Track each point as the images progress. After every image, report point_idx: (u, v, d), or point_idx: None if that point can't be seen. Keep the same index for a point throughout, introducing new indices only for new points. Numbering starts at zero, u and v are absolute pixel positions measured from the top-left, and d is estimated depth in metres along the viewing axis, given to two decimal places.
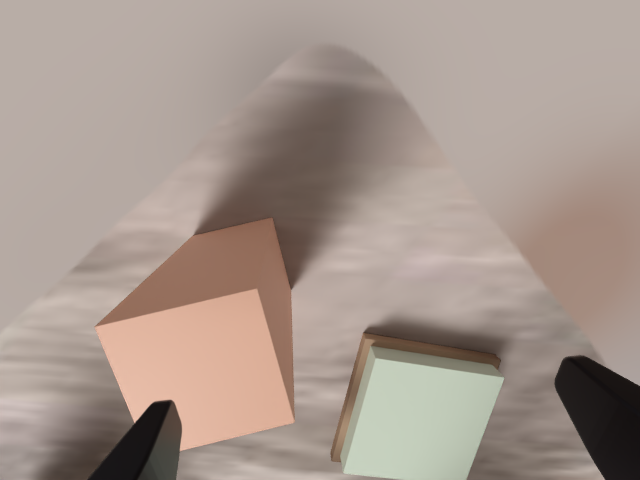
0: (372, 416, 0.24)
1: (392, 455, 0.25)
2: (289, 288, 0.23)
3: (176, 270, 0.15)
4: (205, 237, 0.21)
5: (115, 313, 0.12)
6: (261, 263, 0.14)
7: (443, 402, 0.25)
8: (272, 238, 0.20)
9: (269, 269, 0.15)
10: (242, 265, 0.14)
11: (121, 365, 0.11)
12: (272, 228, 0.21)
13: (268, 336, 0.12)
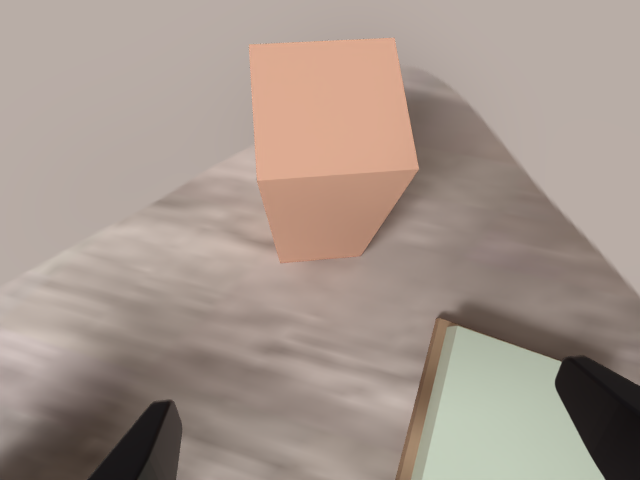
0: (455, 411, 0.19)
1: None
2: None
3: None
4: None
5: None
6: None
7: (546, 406, 0.19)
8: None
9: None
10: None
11: (260, 80, 0.12)
12: None
13: (400, 78, 0.12)
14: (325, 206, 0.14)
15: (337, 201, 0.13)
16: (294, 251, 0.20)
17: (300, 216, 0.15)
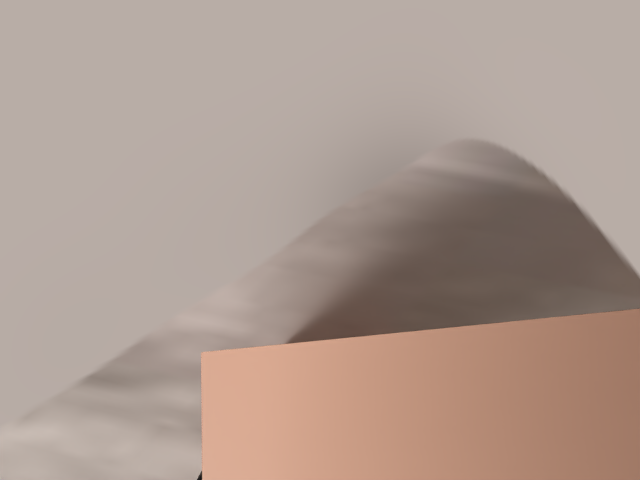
0: None
1: None
2: None
3: None
4: None
5: None
6: None
7: None
8: None
9: None
10: None
11: None
12: None
13: None
14: None
15: None
16: None
17: None
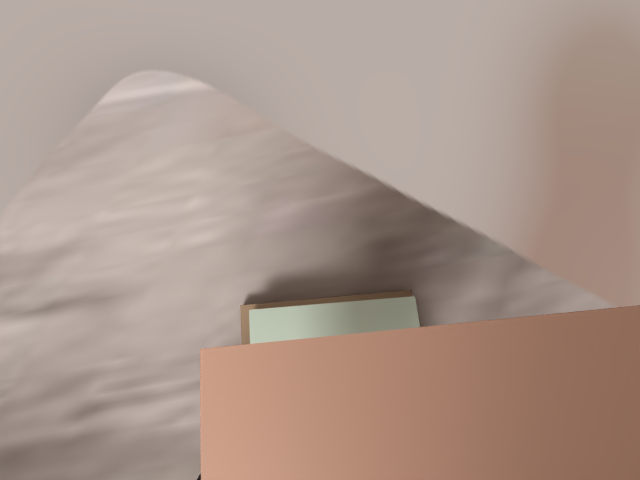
0: None
1: None
2: None
3: None
4: None
5: None
6: None
7: None
8: None
9: None
10: None
11: None
12: None
13: None
14: None
15: None
16: None
17: None
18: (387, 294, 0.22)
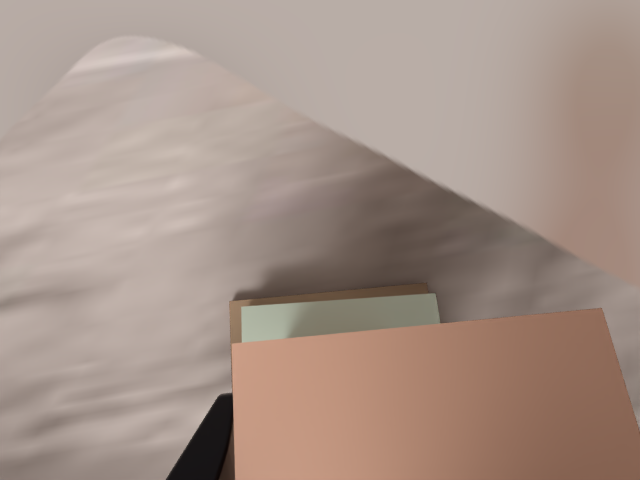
0: None
1: None
2: None
3: None
4: None
5: None
6: None
7: None
8: None
9: None
10: None
11: (262, 468, 0.04)
12: None
13: (638, 442, 0.05)
14: None
15: None
16: None
17: None
18: (399, 288, 0.19)
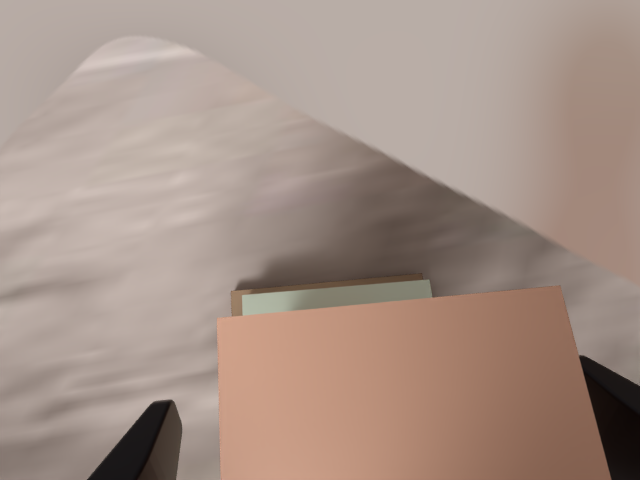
0: None
1: None
2: None
3: None
4: None
5: None
6: None
7: None
8: None
9: None
10: None
11: (243, 427, 0.05)
12: None
13: (587, 406, 0.05)
14: None
15: None
16: None
17: None
18: (395, 278, 0.19)
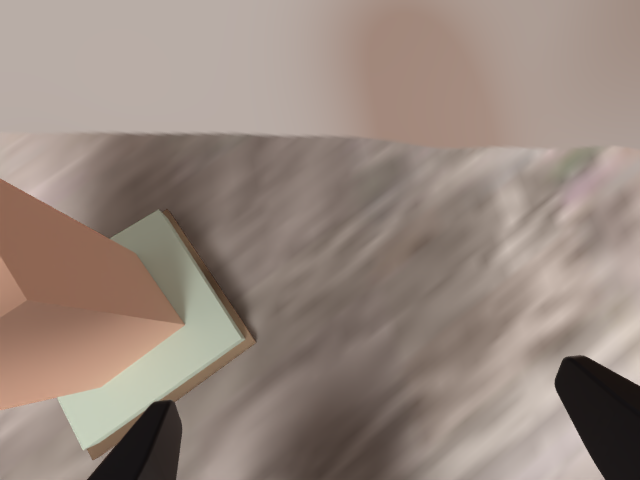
0: None
1: (122, 377, 0.19)
2: (176, 317, 0.19)
3: None
4: None
5: None
6: (7, 183, 0.12)
7: None
8: (112, 246, 0.17)
9: (51, 217, 0.13)
10: None
11: None
12: (124, 250, 0.19)
13: None
14: (2, 371, 0.10)
15: (2, 363, 0.10)
16: (88, 380, 0.16)
17: None
18: None
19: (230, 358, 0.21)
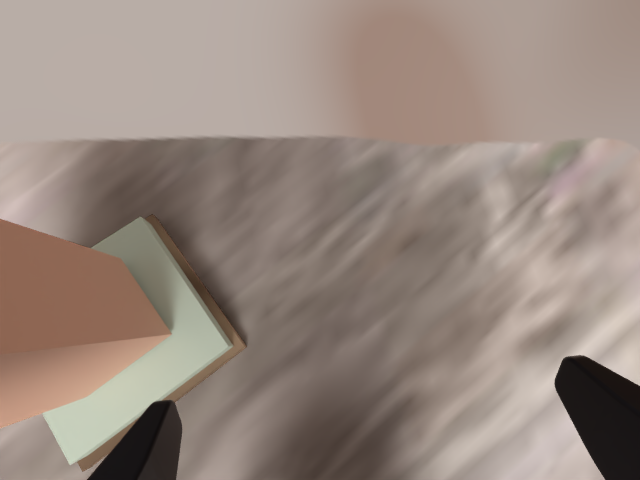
0: None
1: (108, 389, 0.19)
2: (162, 327, 0.19)
3: None
4: None
5: None
6: None
7: None
8: (92, 256, 0.17)
9: (15, 238, 0.12)
10: None
11: None
12: (106, 258, 0.18)
13: None
14: None
15: None
16: (69, 396, 0.16)
17: None
18: None
19: (220, 364, 0.21)
